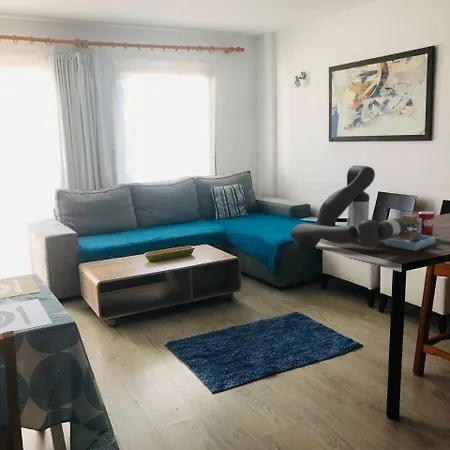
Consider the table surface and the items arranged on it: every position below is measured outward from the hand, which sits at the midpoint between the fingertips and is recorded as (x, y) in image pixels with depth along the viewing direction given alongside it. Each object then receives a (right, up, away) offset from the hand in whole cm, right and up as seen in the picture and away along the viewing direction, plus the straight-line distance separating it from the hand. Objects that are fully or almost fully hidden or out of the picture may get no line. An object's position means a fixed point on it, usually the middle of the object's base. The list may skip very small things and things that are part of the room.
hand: (412, 224), depth 213 cm
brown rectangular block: (-2, -6, -1) cm, 7 cm away
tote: (+1, -9, +6) cm, 11 cm away
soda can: (+12, -7, +18) cm, 23 cm away
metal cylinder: (+4, -7, +8) cm, 12 cm away
